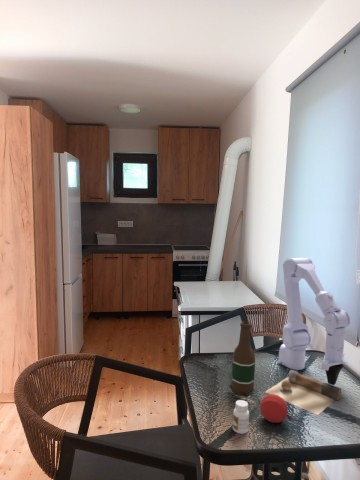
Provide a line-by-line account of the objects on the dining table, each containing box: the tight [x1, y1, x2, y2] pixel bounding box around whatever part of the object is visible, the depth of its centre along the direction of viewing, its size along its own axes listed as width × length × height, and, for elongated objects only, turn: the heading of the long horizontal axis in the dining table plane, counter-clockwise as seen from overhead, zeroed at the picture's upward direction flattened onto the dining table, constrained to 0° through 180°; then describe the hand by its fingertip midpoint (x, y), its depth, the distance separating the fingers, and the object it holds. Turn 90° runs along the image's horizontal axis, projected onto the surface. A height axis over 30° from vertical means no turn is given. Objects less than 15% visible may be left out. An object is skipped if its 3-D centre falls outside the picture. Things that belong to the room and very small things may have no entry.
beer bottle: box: [230, 321, 256, 397], centre depth 120 cm, size 8×8×24 cm
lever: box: [288, 369, 342, 401], centre depth 121 cm, size 18×3×3 cm, turn 45°
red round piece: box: [259, 393, 289, 424], centre depth 105 cm, size 8×8×8 cm
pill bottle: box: [232, 399, 250, 435], centre depth 100 cm, size 4×4×8 cm
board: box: [264, 376, 336, 416], centre depth 118 cm, size 18×17×5 cm
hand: (331, 383), depth 123 cm, fingers closed
